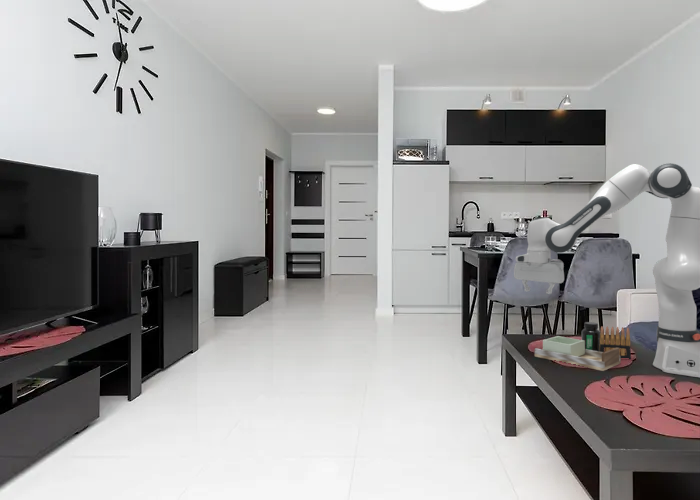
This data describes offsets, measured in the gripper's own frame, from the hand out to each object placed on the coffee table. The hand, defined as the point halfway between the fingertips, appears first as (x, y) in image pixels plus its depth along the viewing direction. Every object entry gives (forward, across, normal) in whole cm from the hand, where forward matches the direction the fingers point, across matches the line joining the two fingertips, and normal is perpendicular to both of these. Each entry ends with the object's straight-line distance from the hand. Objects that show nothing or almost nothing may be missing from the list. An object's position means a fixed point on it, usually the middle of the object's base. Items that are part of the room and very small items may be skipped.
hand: (537, 292), depth 193 cm
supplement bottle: (+24, -15, -15) cm, 32 cm away
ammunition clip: (+24, -24, -15) cm, 37 cm away
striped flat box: (+24, -16, -1) cm, 29 cm away
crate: (+23, -11, -1) cm, 25 cm away
